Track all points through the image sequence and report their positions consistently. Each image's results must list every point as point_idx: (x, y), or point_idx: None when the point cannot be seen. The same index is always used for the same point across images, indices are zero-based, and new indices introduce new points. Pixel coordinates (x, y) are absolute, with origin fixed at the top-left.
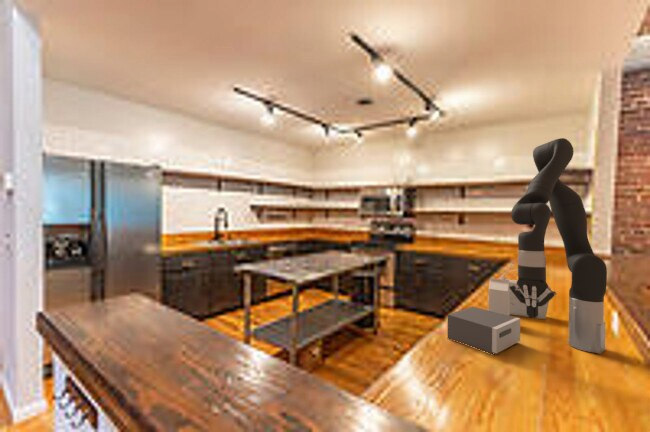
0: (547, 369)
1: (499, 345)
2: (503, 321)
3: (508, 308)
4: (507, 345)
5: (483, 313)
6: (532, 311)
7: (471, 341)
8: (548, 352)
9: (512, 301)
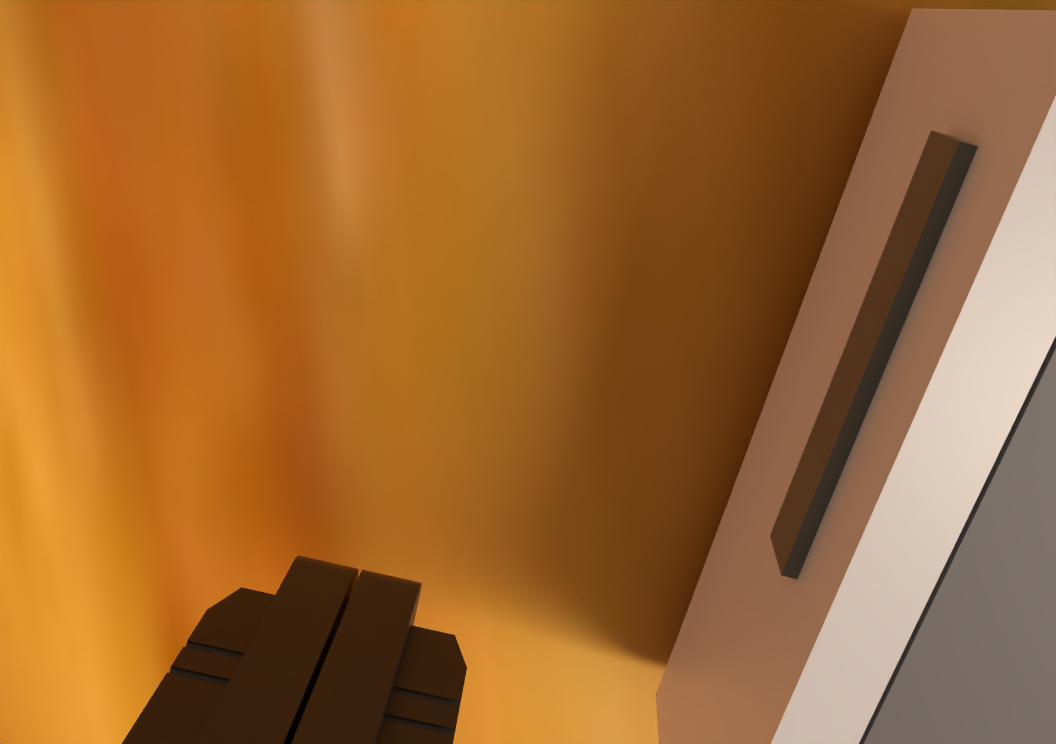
0: (294, 63)
1: (902, 122)
2: (948, 656)
3: None
4: (786, 372)
5: None
6: (271, 672)
7: None
8: None
9: None
